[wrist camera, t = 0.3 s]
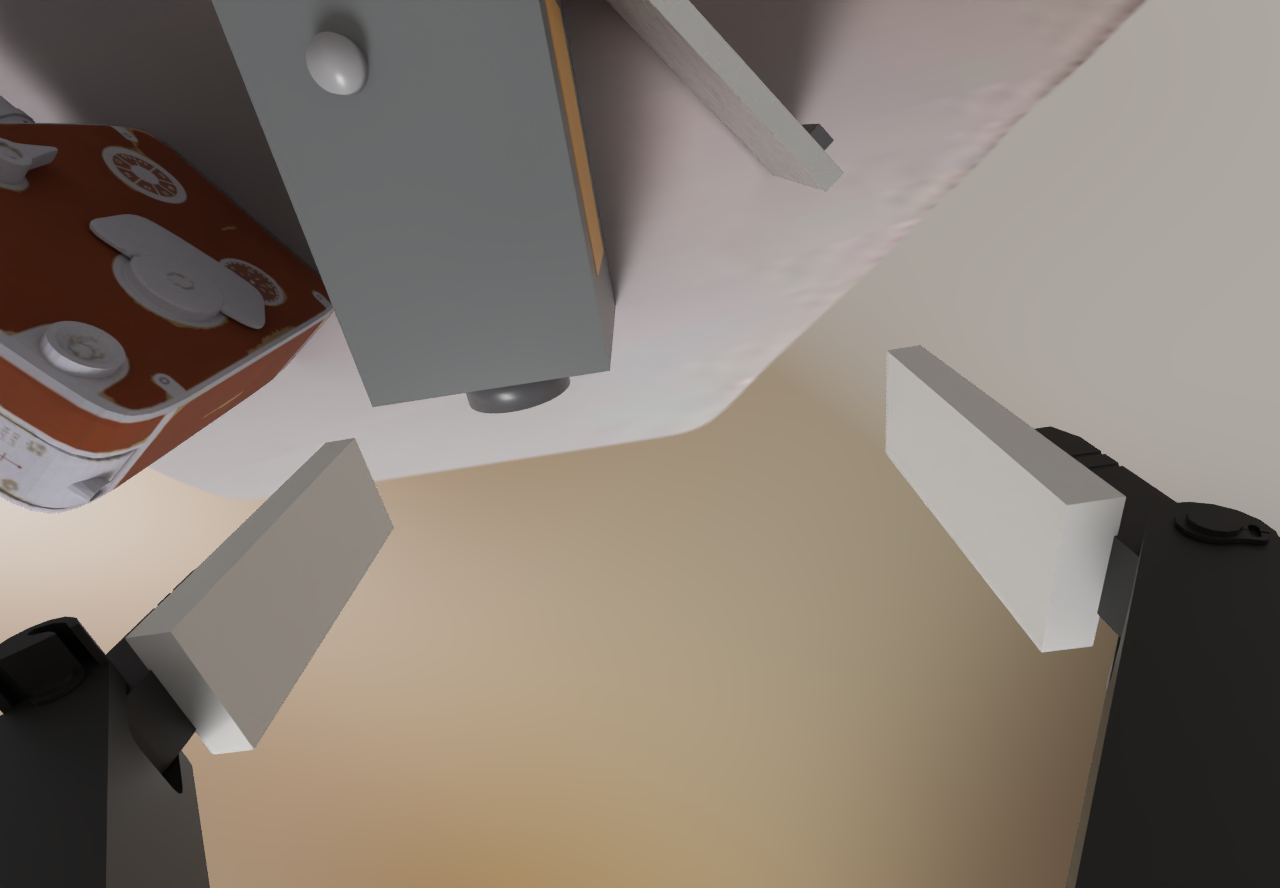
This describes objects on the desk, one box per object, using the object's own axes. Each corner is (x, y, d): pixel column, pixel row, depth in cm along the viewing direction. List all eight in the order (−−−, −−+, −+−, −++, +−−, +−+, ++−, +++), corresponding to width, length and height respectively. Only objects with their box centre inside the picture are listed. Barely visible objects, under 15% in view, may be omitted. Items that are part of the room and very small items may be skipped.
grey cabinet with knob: (452, 372, 42) (385, 461, 30) (315, -56, 31) (133, -164, 20) (635, 343, 41) (636, 424, 30) (560, -105, 30) (518, -248, 19)
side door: (773, 175, 36) (826, 191, 26) (559, -48, 31) (527, -132, 21) (798, 147, 35) (862, 152, 25) (584, -86, 30) (561, -191, 20)
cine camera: (64, 22, 32) (-623, -111, 15) (365, 288, 39) (144, 418, 21) (-6, 151, 35) (-654, 169, 17) (286, 378, 42) (34, 559, 24)
